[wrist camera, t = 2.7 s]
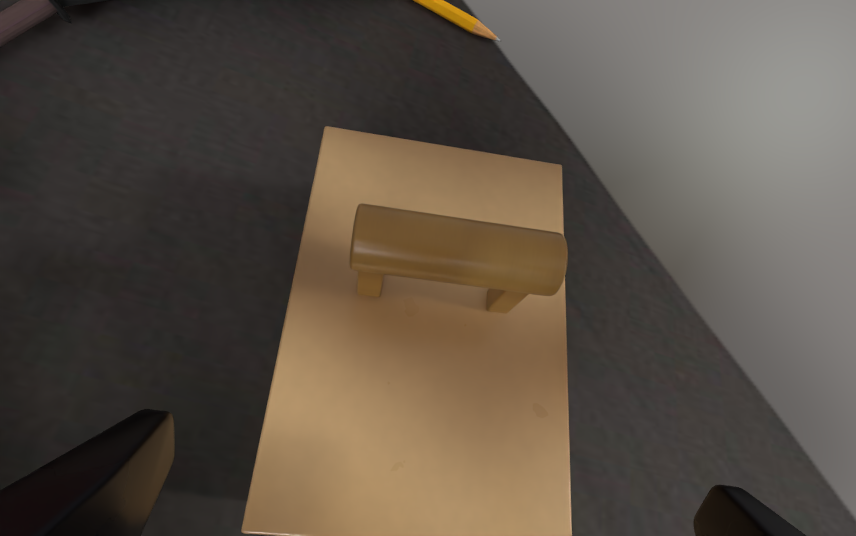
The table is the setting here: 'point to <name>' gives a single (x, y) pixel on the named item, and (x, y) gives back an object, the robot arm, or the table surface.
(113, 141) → the table surface
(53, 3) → the kunai knife
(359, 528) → the lid
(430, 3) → the pencil
